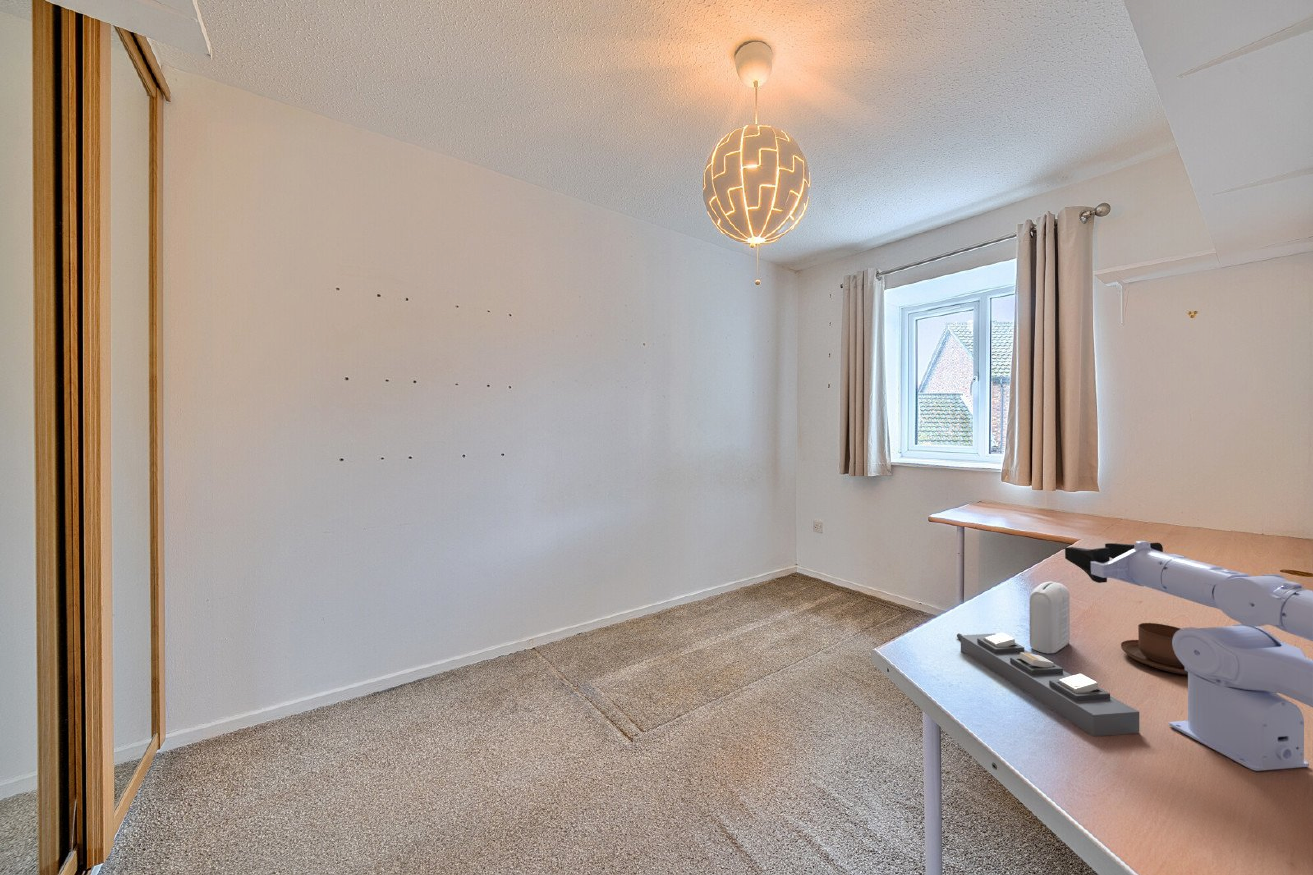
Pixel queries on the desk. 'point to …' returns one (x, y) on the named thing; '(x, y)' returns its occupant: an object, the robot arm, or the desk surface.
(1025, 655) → the middle rocker
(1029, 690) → the rocker switch panel
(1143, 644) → the cup and saucer
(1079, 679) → the rocker
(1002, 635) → the rocker
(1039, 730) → the desk surface
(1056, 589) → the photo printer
